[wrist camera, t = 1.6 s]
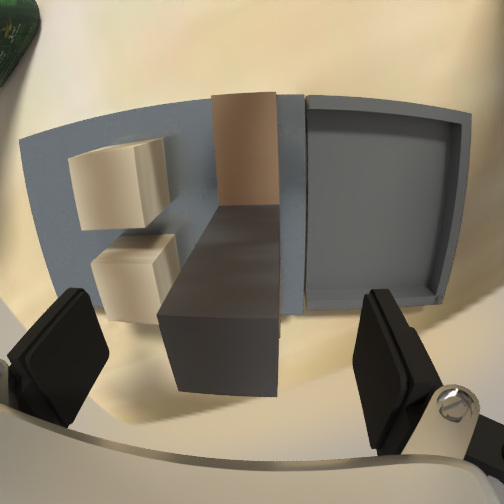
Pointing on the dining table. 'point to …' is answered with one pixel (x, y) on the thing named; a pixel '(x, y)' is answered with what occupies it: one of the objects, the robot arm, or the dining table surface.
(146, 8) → the dining table surface
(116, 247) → the pale wooden cube
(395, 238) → the tray
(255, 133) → the brown handled push block
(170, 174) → the board
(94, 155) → the chip
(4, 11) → the coffee jar
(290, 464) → the robot arm
